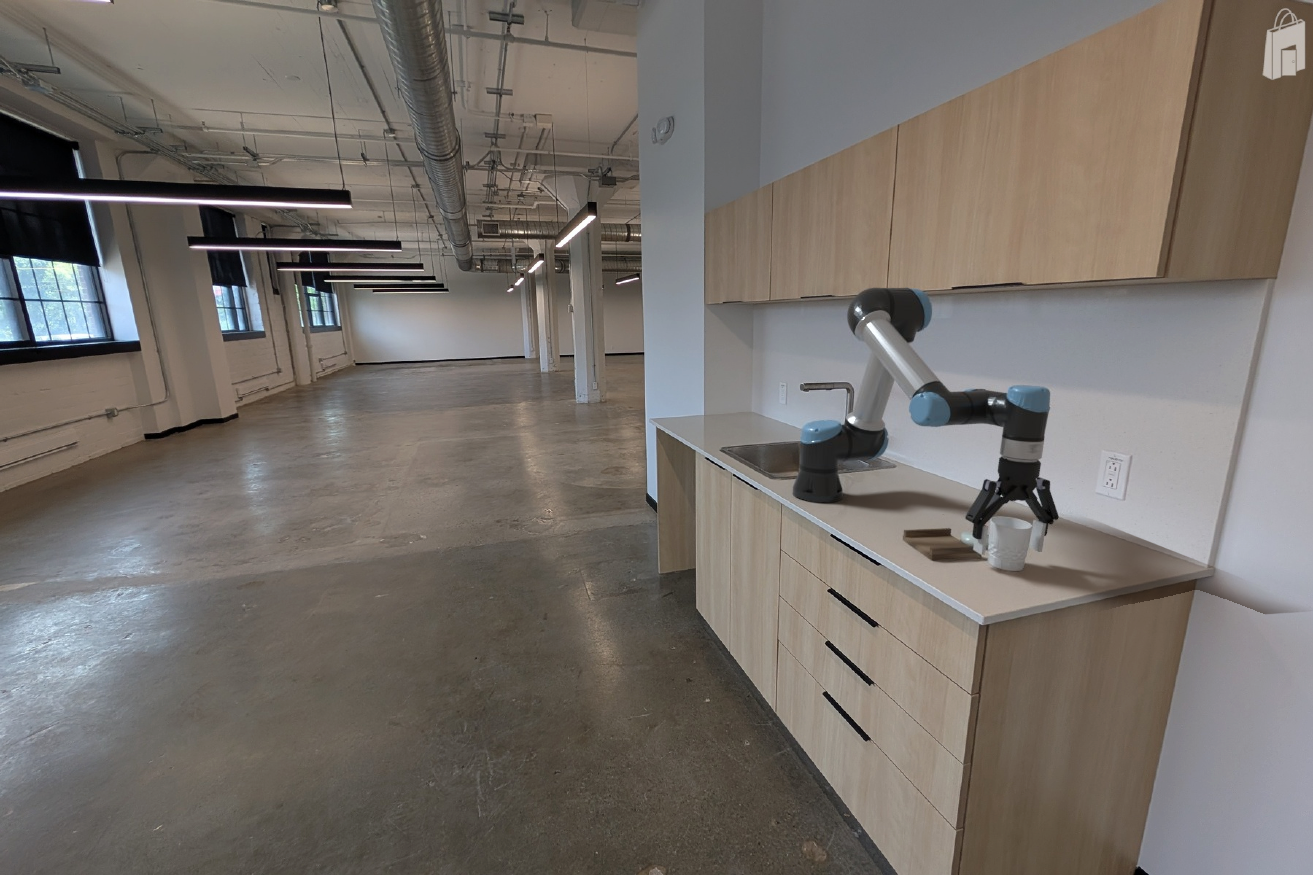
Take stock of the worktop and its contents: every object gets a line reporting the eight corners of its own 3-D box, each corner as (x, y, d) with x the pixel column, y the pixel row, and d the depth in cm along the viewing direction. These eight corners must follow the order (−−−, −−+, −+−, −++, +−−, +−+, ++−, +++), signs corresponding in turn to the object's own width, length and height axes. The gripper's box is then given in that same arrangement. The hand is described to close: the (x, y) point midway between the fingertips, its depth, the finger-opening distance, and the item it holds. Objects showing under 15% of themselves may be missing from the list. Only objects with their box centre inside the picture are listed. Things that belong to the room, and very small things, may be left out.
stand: (902, 539, 135) (903, 529, 134) (947, 537, 136) (948, 527, 135) (931, 560, 123) (932, 549, 122) (980, 557, 124) (981, 546, 124)
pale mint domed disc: (954, 539, 136) (955, 532, 135) (980, 538, 136) (981, 530, 136) (973, 550, 129) (974, 543, 128) (1000, 549, 130) (1001, 541, 129)
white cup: (991, 554, 126) (997, 513, 124) (1031, 565, 120) (1037, 523, 118) (979, 564, 121) (984, 522, 119) (1020, 576, 115) (1026, 532, 113)
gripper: (977, 464, 111) (966, 560, 115) (1088, 460, 113) (1073, 555, 118) (954, 455, 118) (944, 546, 122) (1058, 452, 121) (1045, 541, 125)
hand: (1007, 550), depth 120 cm, fingers open, 13 cm apart
